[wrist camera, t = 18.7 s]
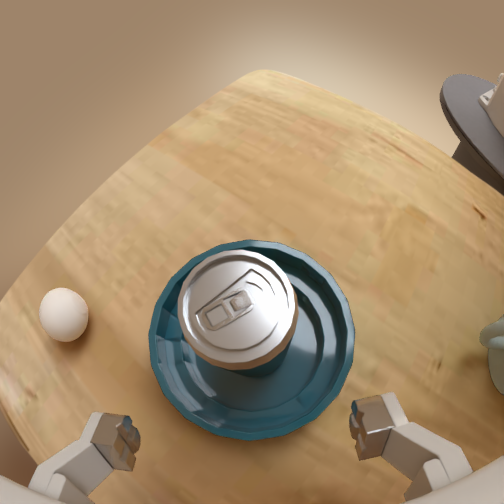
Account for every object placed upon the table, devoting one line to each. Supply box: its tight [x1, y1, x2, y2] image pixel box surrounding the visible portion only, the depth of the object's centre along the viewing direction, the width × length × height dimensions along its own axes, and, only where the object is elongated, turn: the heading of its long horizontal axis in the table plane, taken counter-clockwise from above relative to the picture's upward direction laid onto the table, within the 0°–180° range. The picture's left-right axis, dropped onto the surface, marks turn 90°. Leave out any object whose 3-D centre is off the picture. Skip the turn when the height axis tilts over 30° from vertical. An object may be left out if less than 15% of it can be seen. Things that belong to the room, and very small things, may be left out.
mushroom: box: [39, 288, 88, 342], centre depth 23 cm, size 5×5×5 cm
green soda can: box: [178, 250, 299, 377], centre depth 18 cm, size 5×5×12 cm
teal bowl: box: [148, 240, 355, 441], centre depth 22 cm, size 14×14×4 cm
